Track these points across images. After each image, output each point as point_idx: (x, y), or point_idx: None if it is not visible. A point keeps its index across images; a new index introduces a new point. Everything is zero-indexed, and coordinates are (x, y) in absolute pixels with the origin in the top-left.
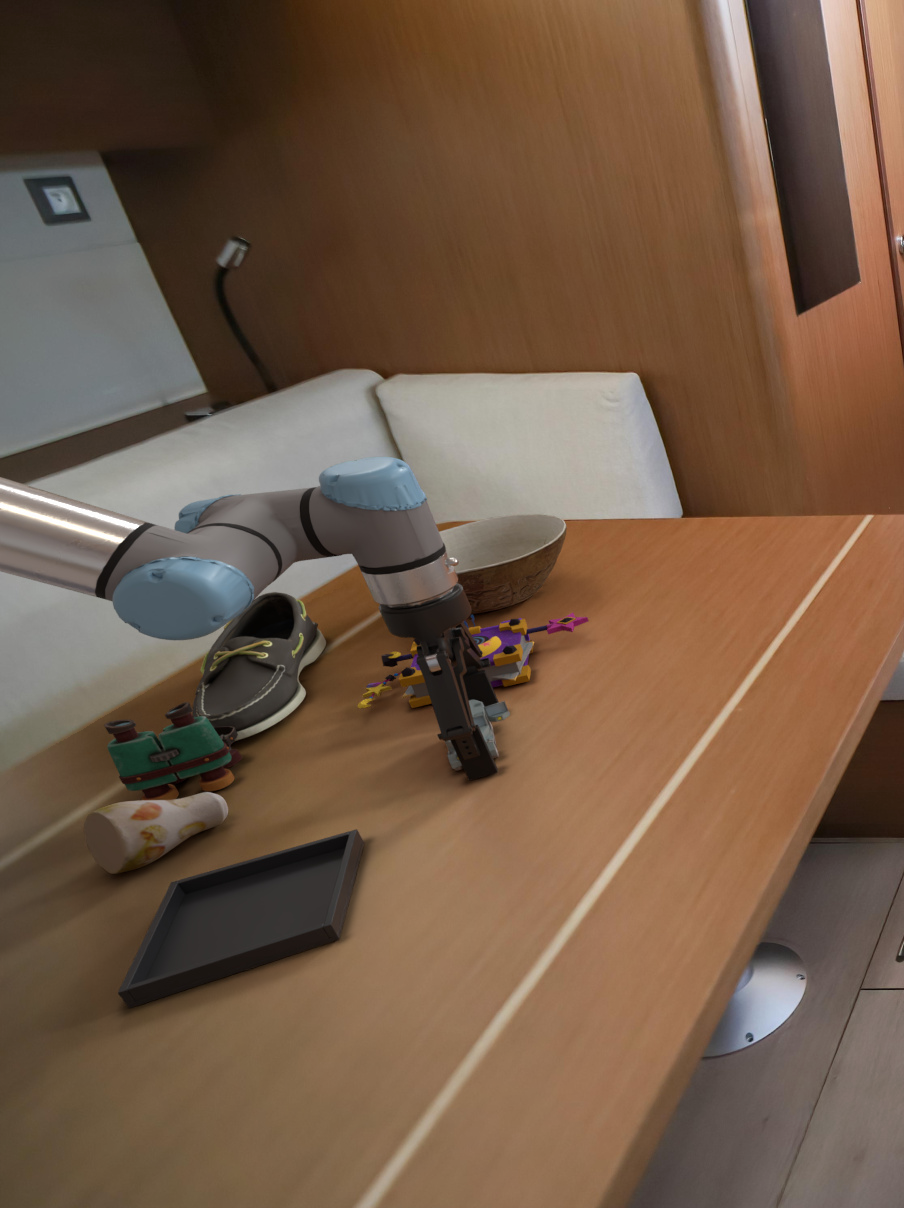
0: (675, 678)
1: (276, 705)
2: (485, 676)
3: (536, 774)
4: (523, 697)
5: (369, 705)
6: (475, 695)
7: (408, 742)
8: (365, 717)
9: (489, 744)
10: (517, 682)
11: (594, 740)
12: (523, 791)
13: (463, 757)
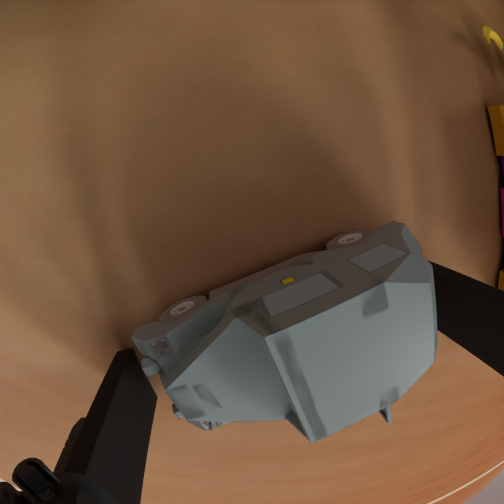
0: (373, 494)
1: None
2: (501, 374)
3: None
4: None
5: (489, 42)
6: (471, 311)
7: (382, 112)
8: (468, 36)
9: (198, 423)
10: None
11: (233, 489)
12: None
13: (73, 426)
